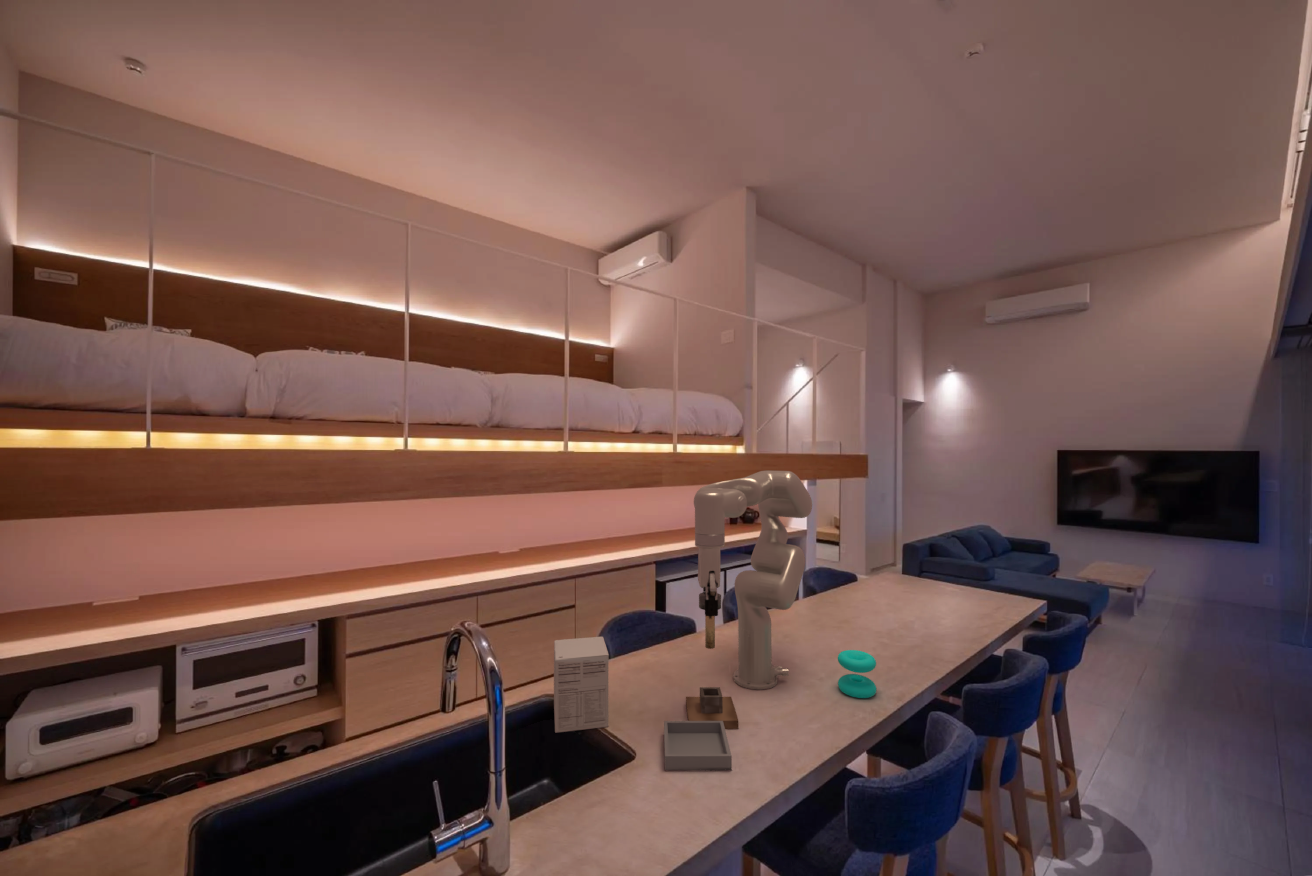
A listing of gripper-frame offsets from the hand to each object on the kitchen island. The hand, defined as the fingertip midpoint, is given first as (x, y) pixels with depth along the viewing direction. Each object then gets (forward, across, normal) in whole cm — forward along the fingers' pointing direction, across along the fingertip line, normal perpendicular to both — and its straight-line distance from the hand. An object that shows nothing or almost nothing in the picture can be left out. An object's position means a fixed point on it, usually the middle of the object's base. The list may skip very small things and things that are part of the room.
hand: (710, 611), depth 130 cm
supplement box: (+27, 0, -33) cm, 42 cm away
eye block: (+26, 0, 0) cm, 27 cm away
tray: (+26, +15, -5) cm, 31 cm away
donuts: (+27, -14, +42) cm, 52 cm away
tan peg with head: (+9, 0, 0) cm, 9 cm away
